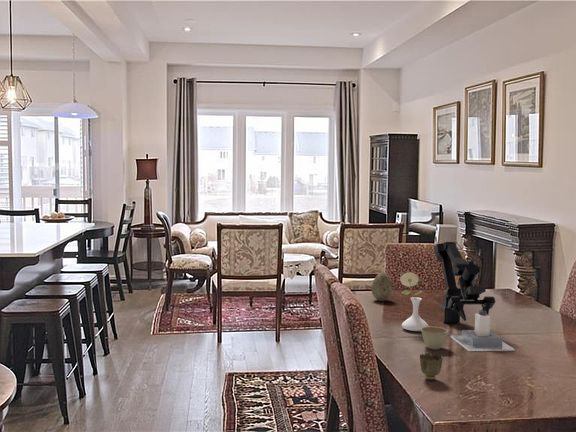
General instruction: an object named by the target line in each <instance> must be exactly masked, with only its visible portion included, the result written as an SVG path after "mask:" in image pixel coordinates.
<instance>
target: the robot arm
mask: <svg viewBox="0 0 576 432" xmlns="http://www.w3.org/2000/svg"><path fill="white" fill-rule="evenodd" d="M433 252H434V254H435V256H436V259H437V260H438V261H439V262H440V263H441V270H442V275H443V279H444V285H445V292H444V295H443V299H442V301H441V302H440V303H441V304H440V306H441V309H442V310H444V314H443V324H451V325H459V324H460V323H461V319H462V320H463V321H464V322H466V321H467V318H466V317H467V316H466V314H465V311H464V310H465V309H464V308H465V307H464V306H466V305H471V306H473V305H474V306H480V305H481V308H482V309H481V310H484V311H486V314H487V315H489V313H490V310H491V309H492V308H493V307H494V305H495V303H496V302H497V301H496V298H495V297H494V296H484V297H483V299H479V298H480V295H482V294H483V293H485V292H486V291H487V290H486V286H485V284H480V285H474V281H476V279H477V277H478V275H479V274H480V271H481V269H480V267H479V266H478V265H477V264H475V263H474V261H468V260H467V259H464V258H463V256H462V255H461V252H460V250H459V249H458V247H457V243H456V241H444V242H442V243H436V244H435V245H434V248H433ZM456 277H459V278H458V282H457V283H456ZM457 285H458V286H459V288H458V286H457ZM489 316H490V315H489Z"/></svg>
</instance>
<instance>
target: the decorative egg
mask: <svg viewBox="0 0 576 432" xmlns="http://www.w3.org/2000/svg"><path fill="white" fill-rule="evenodd" d="M371 294H372V296H373V297H374V299H375V300H377V301H380V302H385V301H387V300H389V299H390V297H391V296H392V294H393V283H392V281H391V277H389V275H388V274H387V273H386V272H383V271H382V272H380V273H378V274H377V275H376V276H375V278H373V281H372V284H371Z"/></svg>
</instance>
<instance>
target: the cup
mask: <svg viewBox="0 0 576 432" xmlns="http://www.w3.org/2000/svg"><path fill="white" fill-rule="evenodd" d="M443 359H444V356H442V355H441V354H439V353H435V354H434V353H433V352H432V353H429V352H425V353H422V354H421V353H420V354H419V363H420V369H421V370H420V371H421V372H422V373H423V375H424V379H425V380H427V381H430V382H431V381H435V380H436V379H437V376H438V375H439V374H440V373H441V370H442V365H443Z"/></svg>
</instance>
